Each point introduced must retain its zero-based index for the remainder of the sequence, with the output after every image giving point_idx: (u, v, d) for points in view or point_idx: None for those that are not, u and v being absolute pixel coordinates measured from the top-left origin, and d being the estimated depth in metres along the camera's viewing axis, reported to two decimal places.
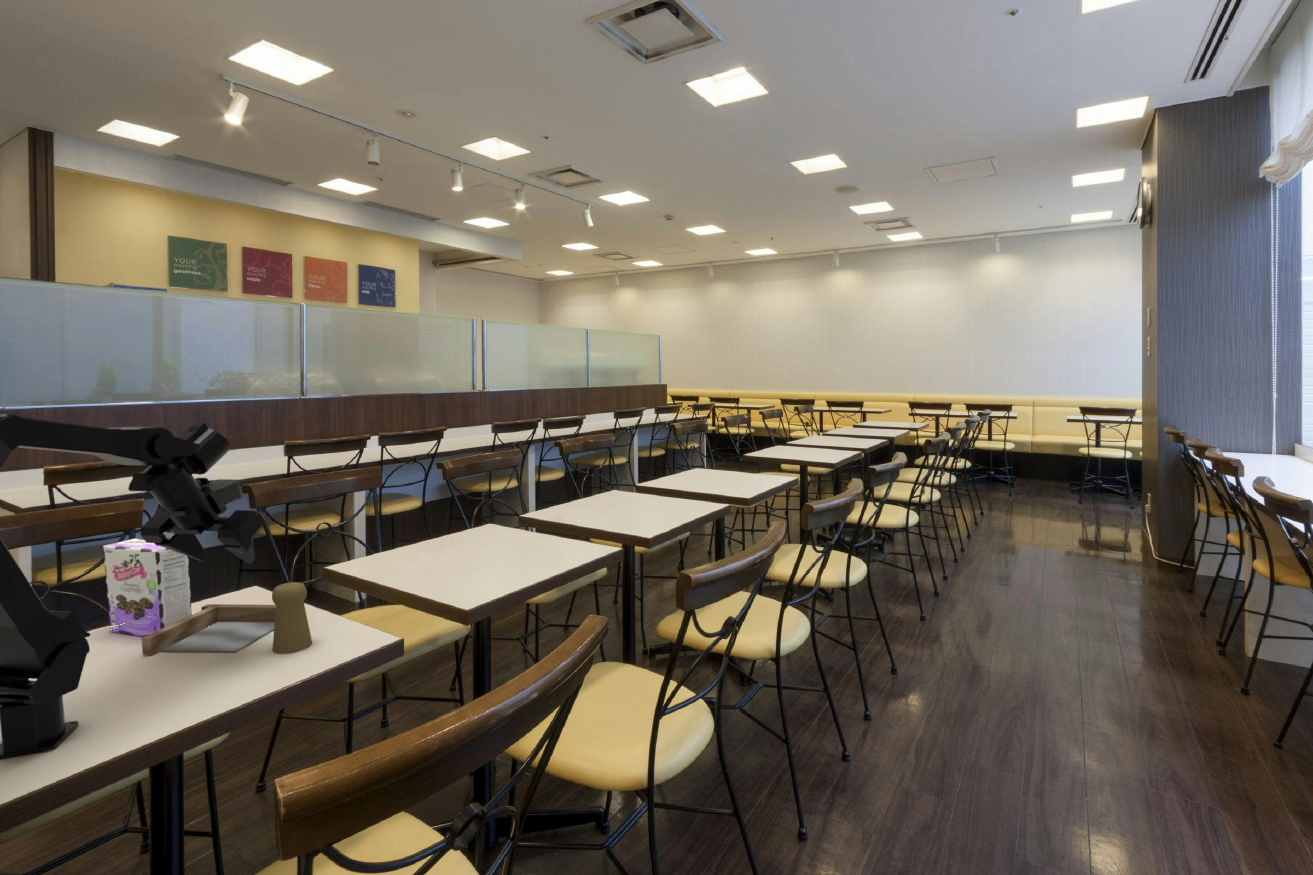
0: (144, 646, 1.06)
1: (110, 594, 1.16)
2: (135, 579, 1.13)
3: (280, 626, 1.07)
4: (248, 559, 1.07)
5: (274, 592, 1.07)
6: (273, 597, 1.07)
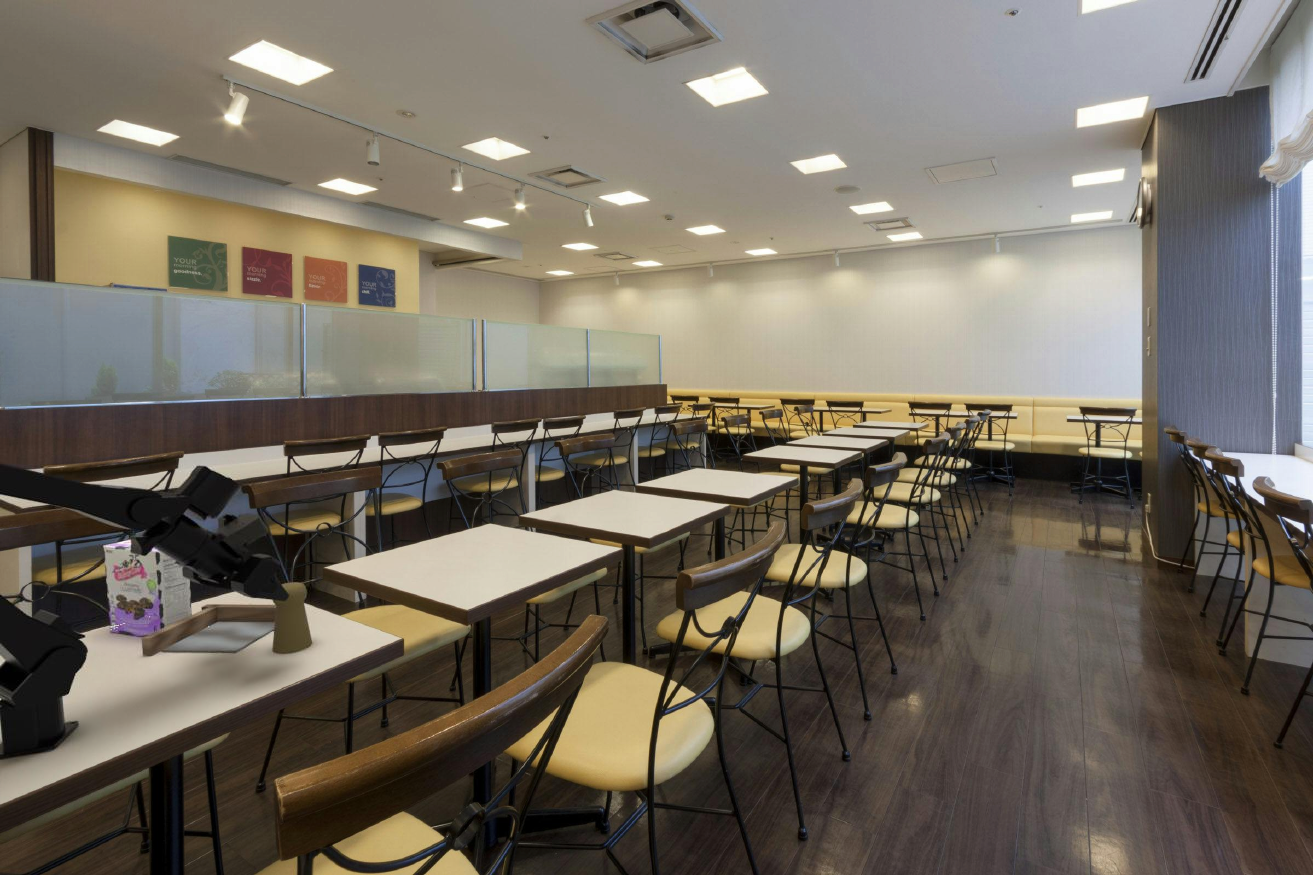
0: (144, 646, 1.06)
1: (110, 594, 1.16)
2: (135, 579, 1.13)
3: (280, 626, 1.07)
4: (279, 599, 1.02)
5: None
6: None
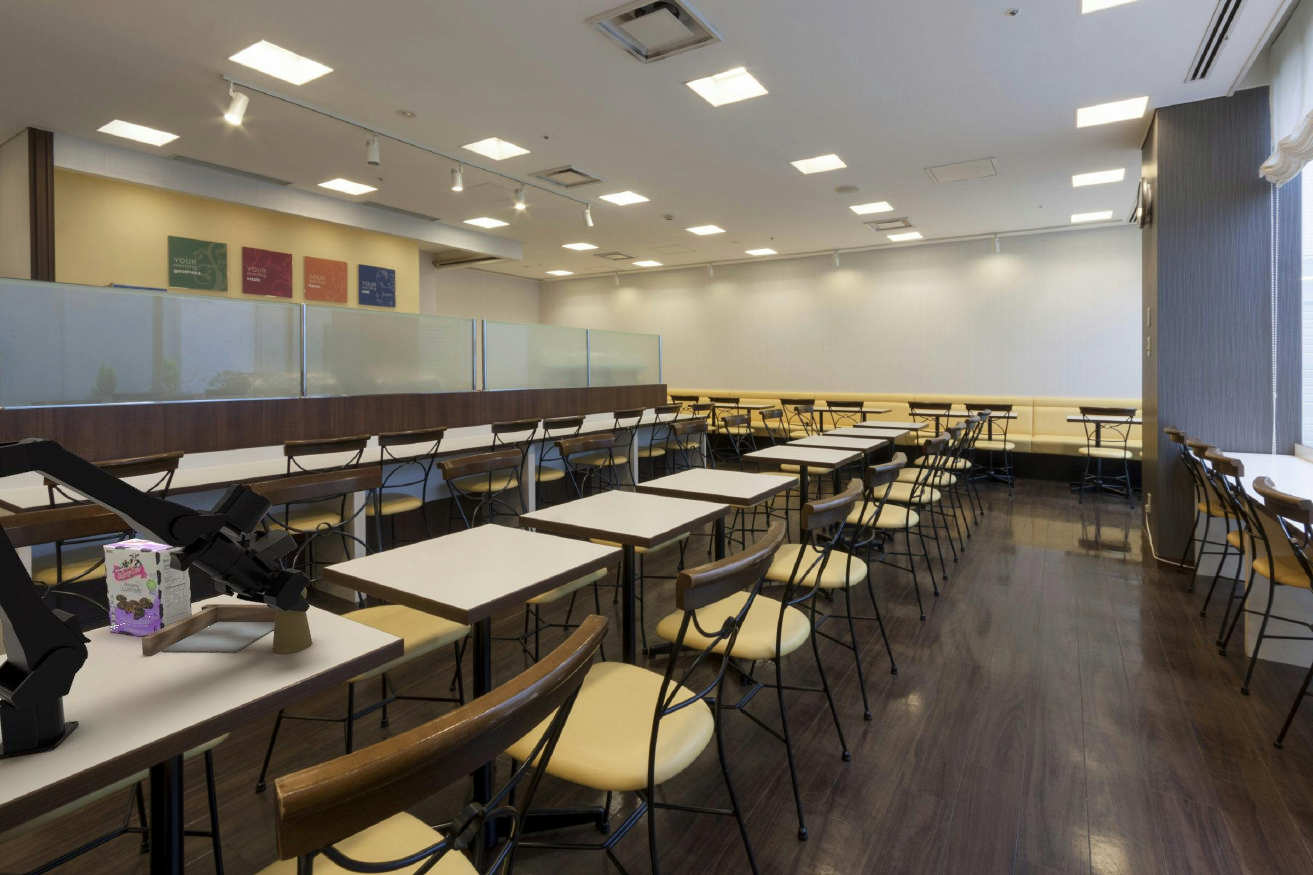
0: (144, 646, 1.06)
1: (110, 594, 1.16)
2: (135, 579, 1.13)
3: (280, 626, 1.07)
4: (300, 609, 1.07)
5: None
6: None
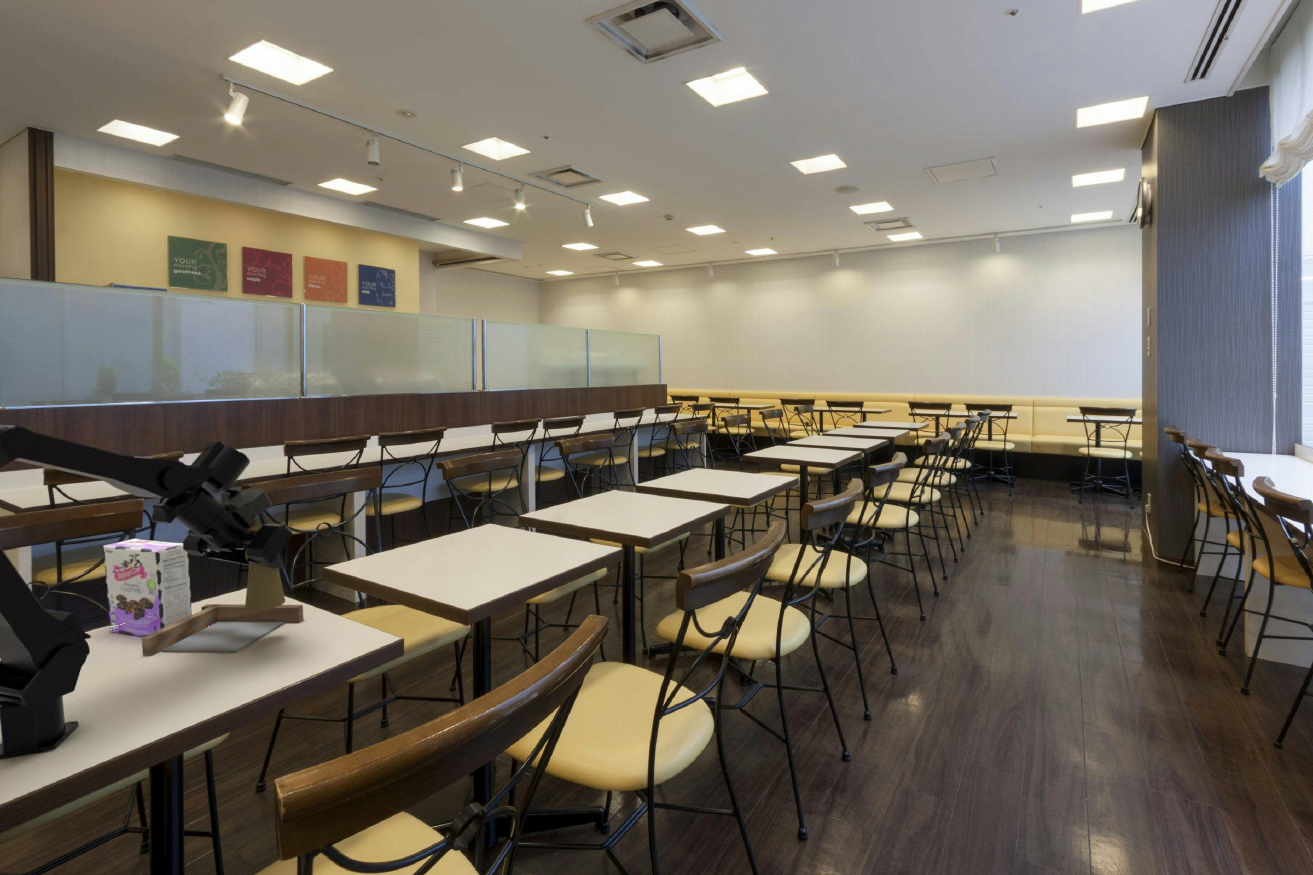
0: (144, 646, 1.06)
1: (110, 594, 1.16)
2: (135, 579, 1.13)
3: (255, 583, 1.08)
4: (276, 566, 1.10)
5: None
6: None
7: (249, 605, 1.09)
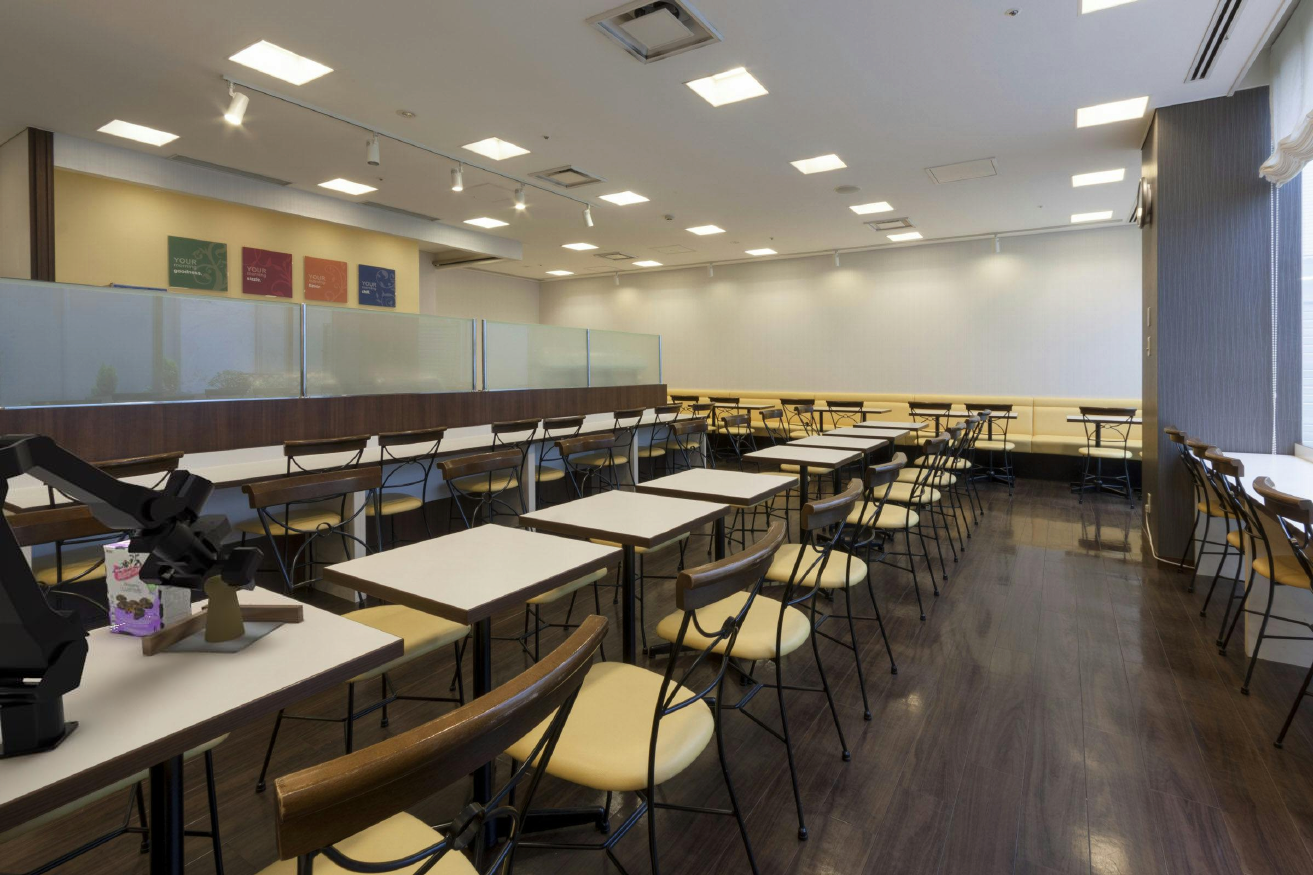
0: (144, 646, 1.06)
1: (110, 594, 1.16)
2: (135, 579, 1.13)
3: (218, 616, 1.11)
4: (250, 588, 1.13)
5: (210, 584, 1.10)
6: (209, 589, 1.10)
7: (212, 638, 1.11)
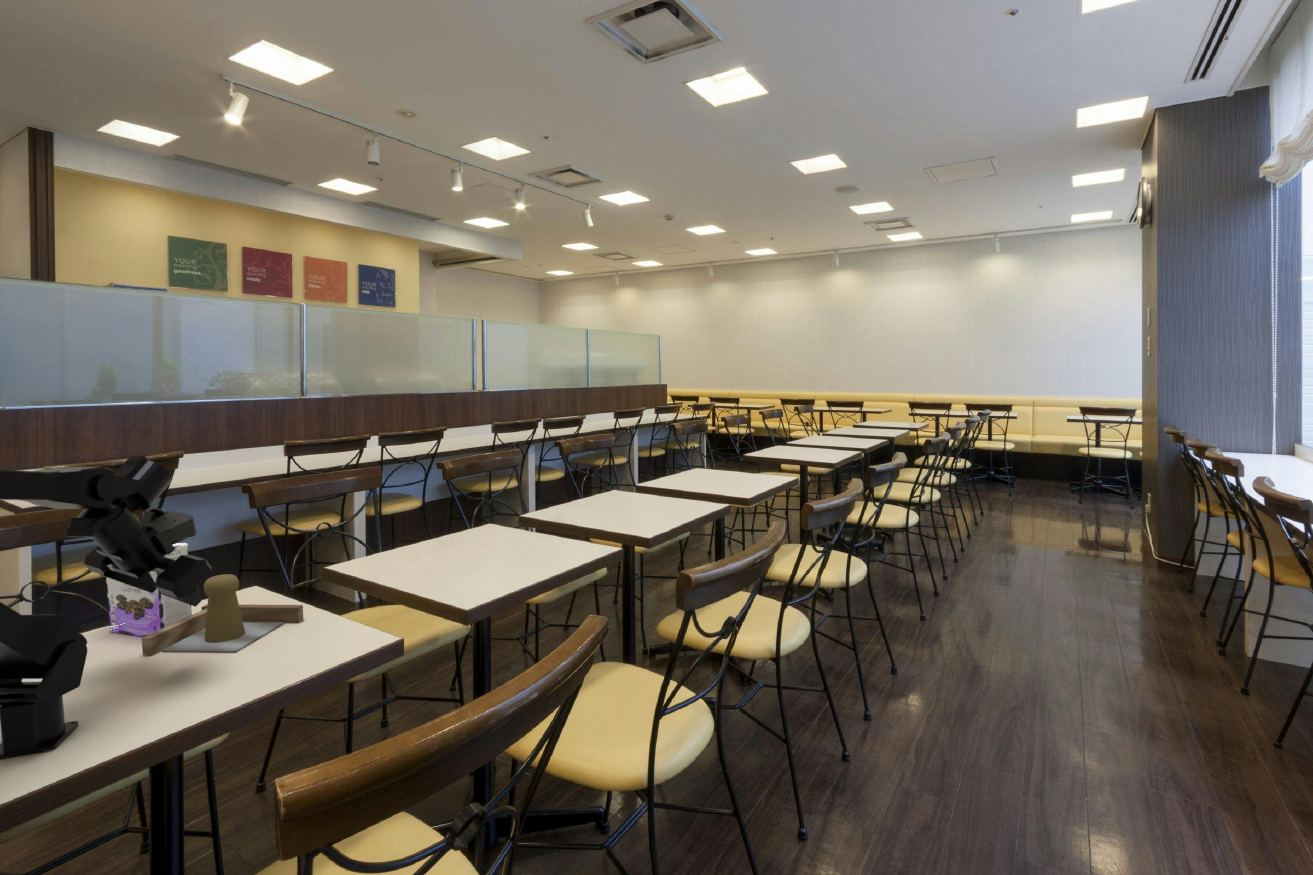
0: (144, 646, 1.06)
1: (110, 594, 1.16)
2: None
3: (217, 616, 1.11)
4: (192, 603, 1.01)
5: (209, 584, 1.10)
6: (209, 589, 1.10)
7: (212, 638, 1.11)
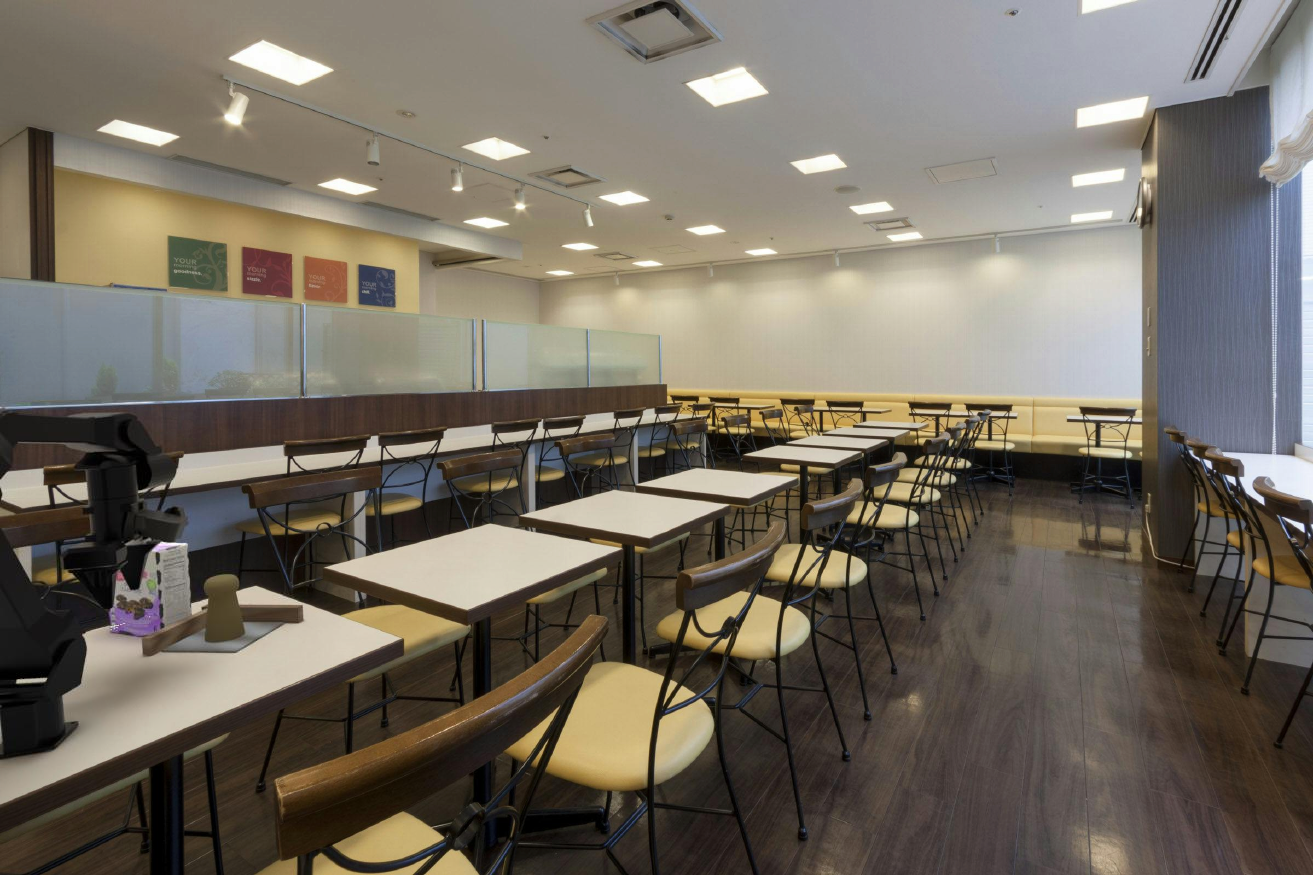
0: (144, 646, 1.06)
1: None
2: None
3: (217, 616, 1.11)
4: (98, 601, 0.90)
5: (210, 584, 1.10)
6: (209, 589, 1.10)
7: (212, 638, 1.11)
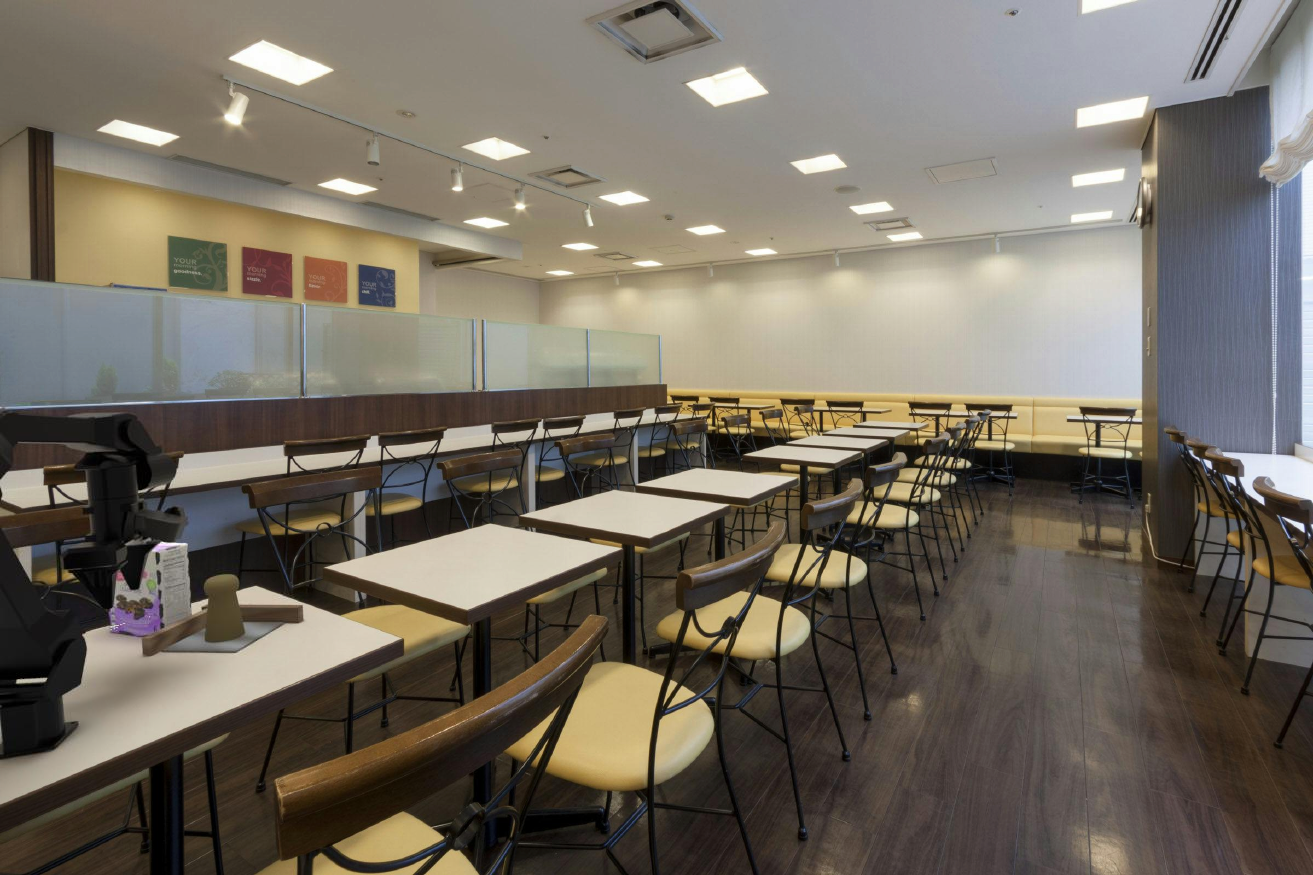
0: (144, 646, 1.06)
1: None
2: None
3: (217, 616, 1.11)
4: (98, 601, 0.90)
5: (210, 584, 1.10)
6: (209, 589, 1.10)
7: (212, 638, 1.11)
